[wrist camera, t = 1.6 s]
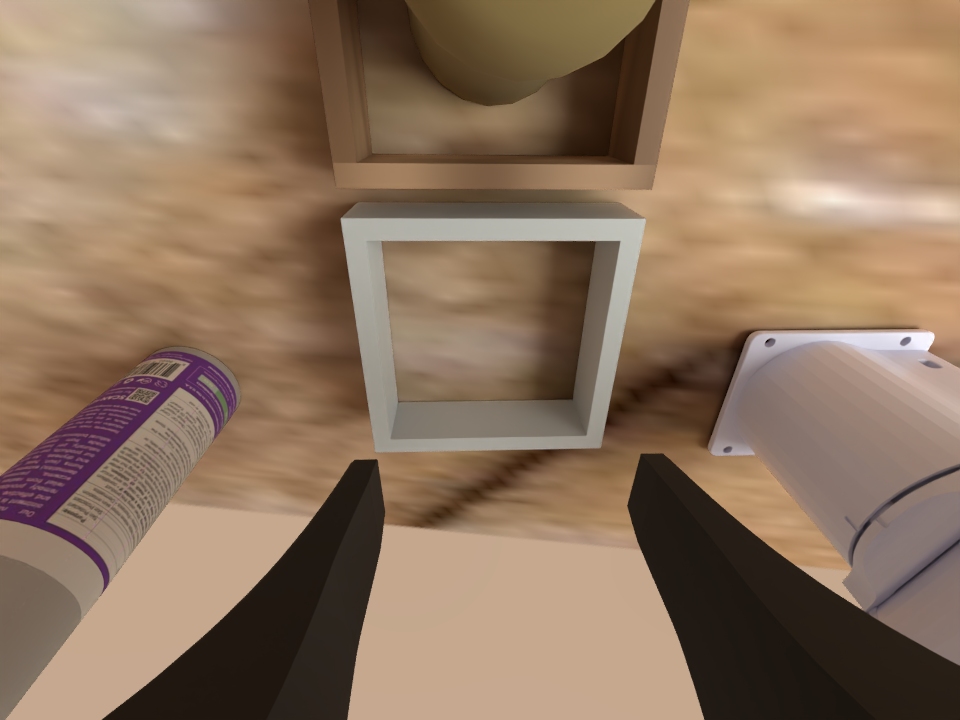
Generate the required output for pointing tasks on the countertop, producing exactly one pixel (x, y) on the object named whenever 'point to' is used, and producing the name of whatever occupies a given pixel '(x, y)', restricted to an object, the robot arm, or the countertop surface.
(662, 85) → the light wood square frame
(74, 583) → the container
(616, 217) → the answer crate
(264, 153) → the countertop surface
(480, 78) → the olive rounded piece
